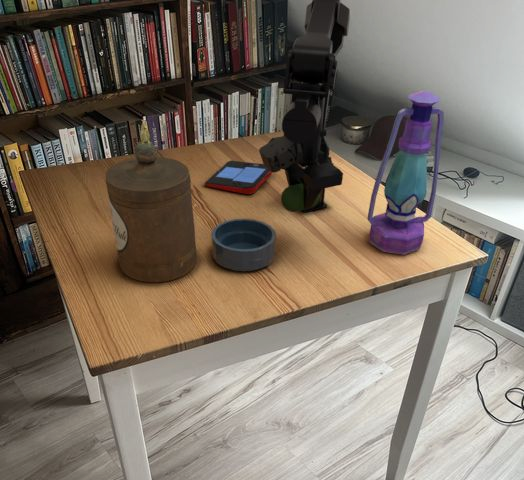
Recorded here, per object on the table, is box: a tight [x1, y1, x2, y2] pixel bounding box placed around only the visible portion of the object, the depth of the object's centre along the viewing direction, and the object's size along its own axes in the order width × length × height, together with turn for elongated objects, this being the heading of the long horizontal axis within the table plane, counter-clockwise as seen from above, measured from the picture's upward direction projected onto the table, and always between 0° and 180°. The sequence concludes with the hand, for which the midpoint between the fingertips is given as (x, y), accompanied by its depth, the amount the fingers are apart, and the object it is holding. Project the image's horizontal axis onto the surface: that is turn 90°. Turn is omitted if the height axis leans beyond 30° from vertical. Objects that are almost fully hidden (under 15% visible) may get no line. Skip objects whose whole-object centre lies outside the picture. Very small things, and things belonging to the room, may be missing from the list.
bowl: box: [210, 218, 277, 272], centre depth 110 cm, size 12×12×5 cm
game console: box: [204, 160, 273, 195], centre depth 137 cm, size 14×13×2 cm
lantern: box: [366, 90, 445, 255], centre depth 108 cm, size 13×12×30 cm
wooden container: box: [105, 149, 198, 283], centre depth 102 cm, size 15×15×22 cm
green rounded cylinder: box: [280, 184, 320, 213], centre depth 110 cm, size 8×5×5 cm, turn 116°
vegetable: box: [134, 119, 158, 158], centre depth 117 cm, size 4×4×20 cm
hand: (300, 203), depth 111 cm, fingers closed on green rounded cylinder, 5 cm apart
